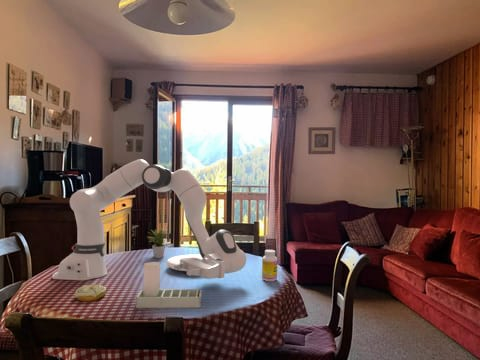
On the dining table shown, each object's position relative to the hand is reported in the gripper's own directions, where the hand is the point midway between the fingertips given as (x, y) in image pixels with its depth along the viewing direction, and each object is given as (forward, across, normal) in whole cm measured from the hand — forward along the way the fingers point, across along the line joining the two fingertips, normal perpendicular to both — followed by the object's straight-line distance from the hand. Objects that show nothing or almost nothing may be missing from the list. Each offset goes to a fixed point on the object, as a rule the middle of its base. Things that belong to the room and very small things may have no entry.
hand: (181, 270), depth 138 cm
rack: (+6, +4, +10) cm, 13 cm away
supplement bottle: (-43, +3, +10) cm, 44 cm away
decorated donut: (+27, -19, +10) cm, 35 cm away
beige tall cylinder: (+12, 0, +9) cm, 15 cm away
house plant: (-23, -67, +10) cm, 71 cm away
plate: (-26, -33, +10) cm, 43 cm away
